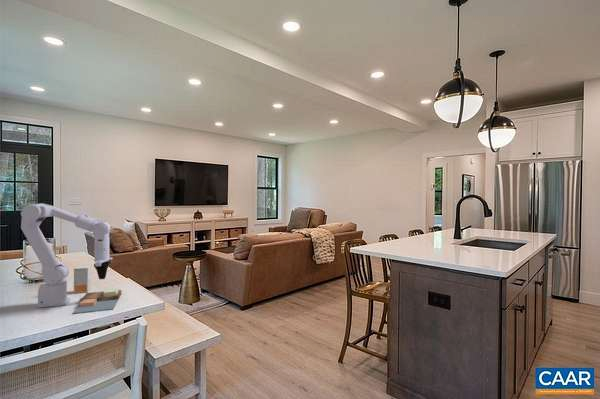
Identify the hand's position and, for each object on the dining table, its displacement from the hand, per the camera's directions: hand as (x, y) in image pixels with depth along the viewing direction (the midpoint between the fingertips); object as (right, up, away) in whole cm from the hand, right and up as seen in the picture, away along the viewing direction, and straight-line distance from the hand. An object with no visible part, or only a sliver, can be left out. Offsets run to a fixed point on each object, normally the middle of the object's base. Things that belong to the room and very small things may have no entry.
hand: (102, 278), depth 140 cm
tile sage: (+3, -8, +2) cm, 8 cm away
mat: (+3, -10, -8) cm, 13 cm away
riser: (-1, -9, +2) cm, 10 cm away
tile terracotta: (-1, -9, -7) cm, 12 cm away
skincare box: (-16, -9, +11) cm, 22 cm away
